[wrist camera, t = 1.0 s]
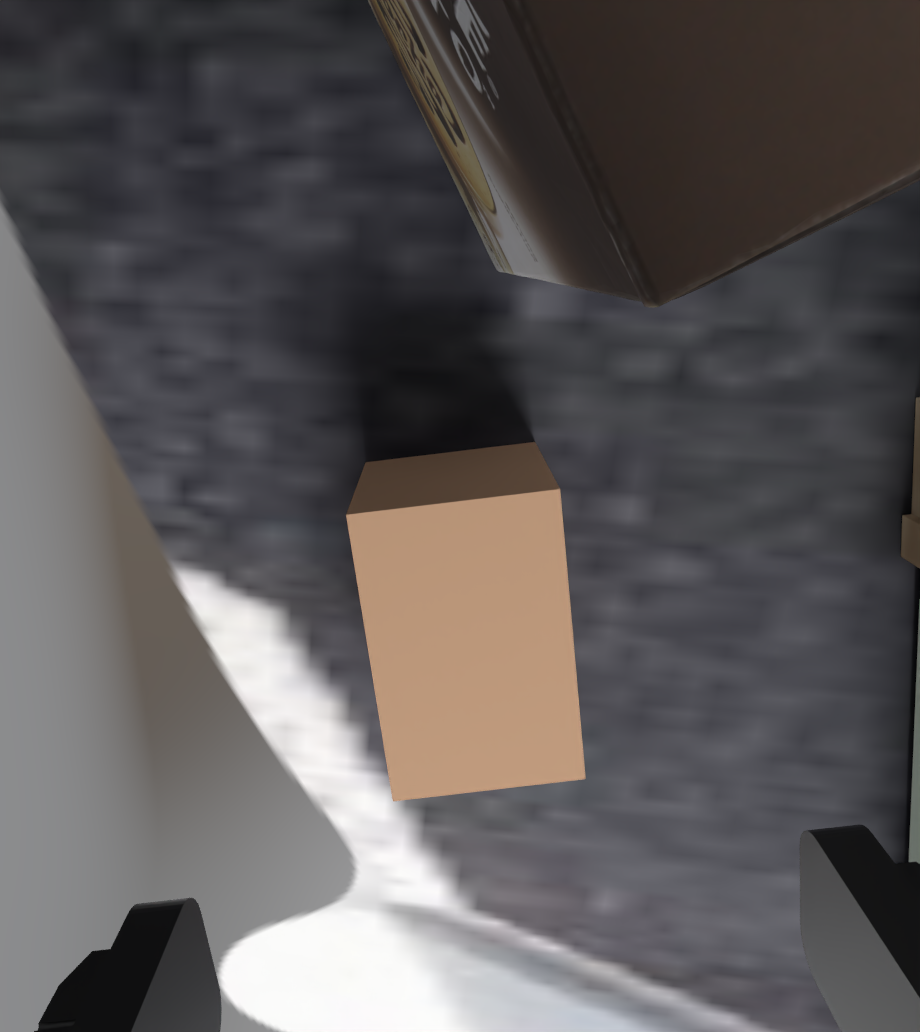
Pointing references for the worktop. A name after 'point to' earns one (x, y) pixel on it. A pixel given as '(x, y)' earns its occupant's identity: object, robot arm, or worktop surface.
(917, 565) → the door frame
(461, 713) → the rectangular block
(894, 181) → the coffee box
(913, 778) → the door
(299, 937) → the worktop surface
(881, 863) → the robot arm
